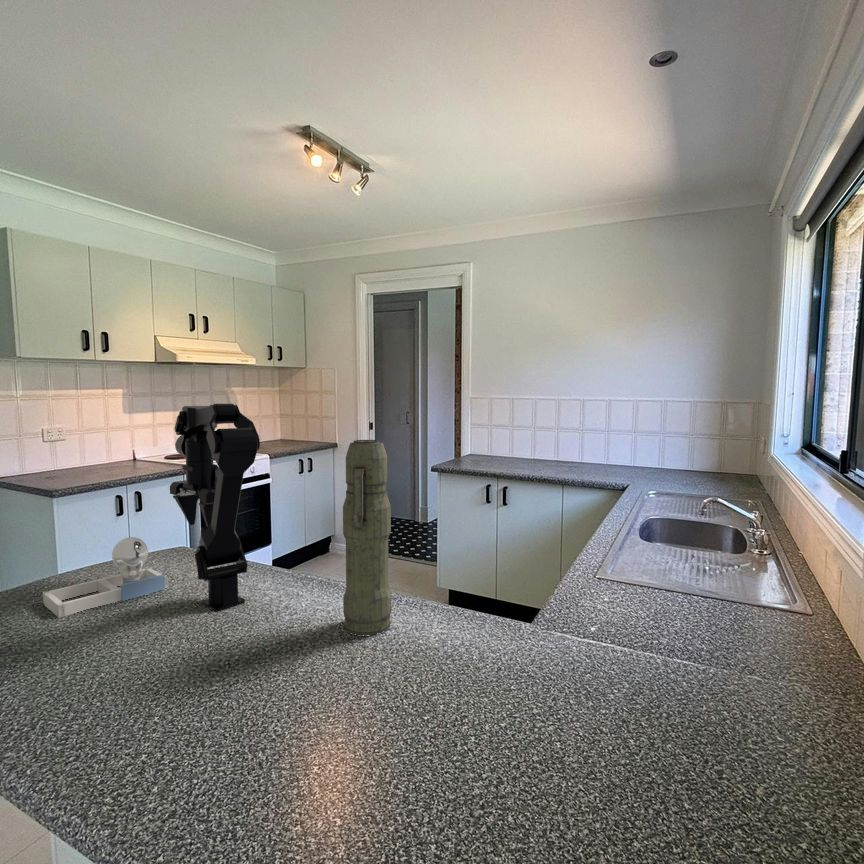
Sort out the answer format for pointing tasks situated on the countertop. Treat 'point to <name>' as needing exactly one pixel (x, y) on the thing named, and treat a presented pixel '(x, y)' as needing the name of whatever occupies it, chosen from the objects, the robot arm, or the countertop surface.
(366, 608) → the thermos
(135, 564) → the light bulb
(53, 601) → the white tray
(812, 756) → the countertop surface
